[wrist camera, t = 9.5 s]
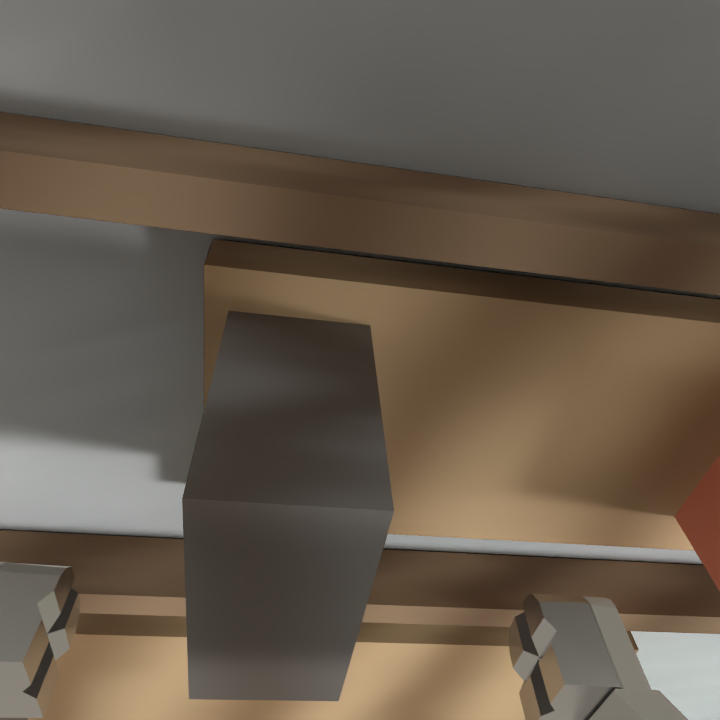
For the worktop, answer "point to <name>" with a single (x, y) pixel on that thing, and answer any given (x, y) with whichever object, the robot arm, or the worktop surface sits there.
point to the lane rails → (379, 236)
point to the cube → (704, 520)
